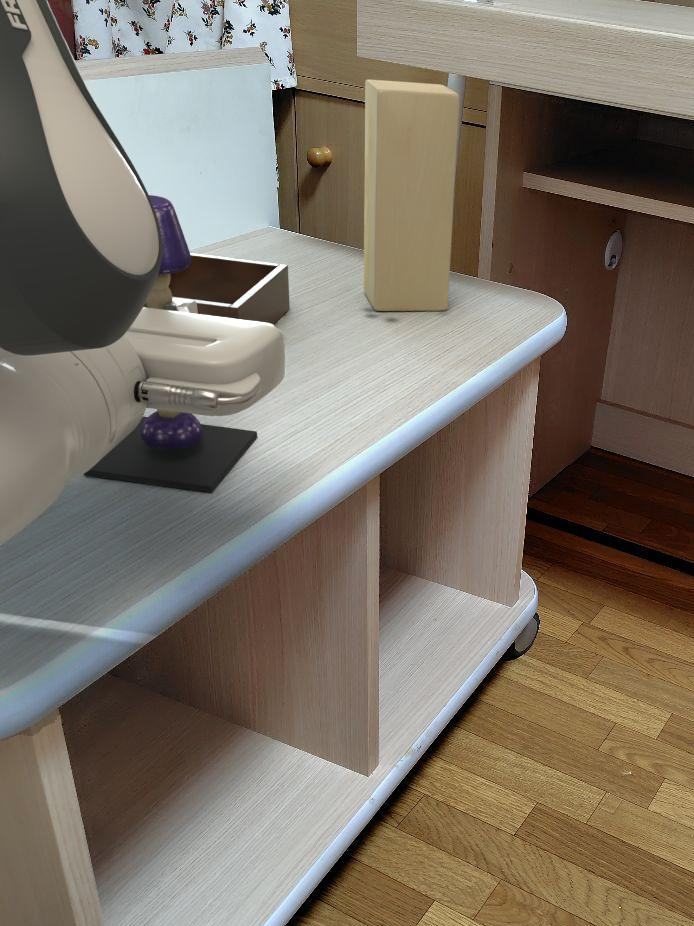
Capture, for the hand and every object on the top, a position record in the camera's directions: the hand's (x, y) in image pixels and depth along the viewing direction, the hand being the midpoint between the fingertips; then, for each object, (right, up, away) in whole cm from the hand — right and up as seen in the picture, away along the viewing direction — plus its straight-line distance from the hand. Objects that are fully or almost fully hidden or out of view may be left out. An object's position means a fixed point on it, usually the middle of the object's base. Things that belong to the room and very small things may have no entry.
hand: (165, 307), depth 66 cm
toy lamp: (-1, -9, +4) cm, 10 cm away
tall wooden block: (+11, +10, +39) cm, 41 cm away
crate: (-7, +5, +27) cm, 29 cm away
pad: (-1, -10, +5) cm, 11 cm away
